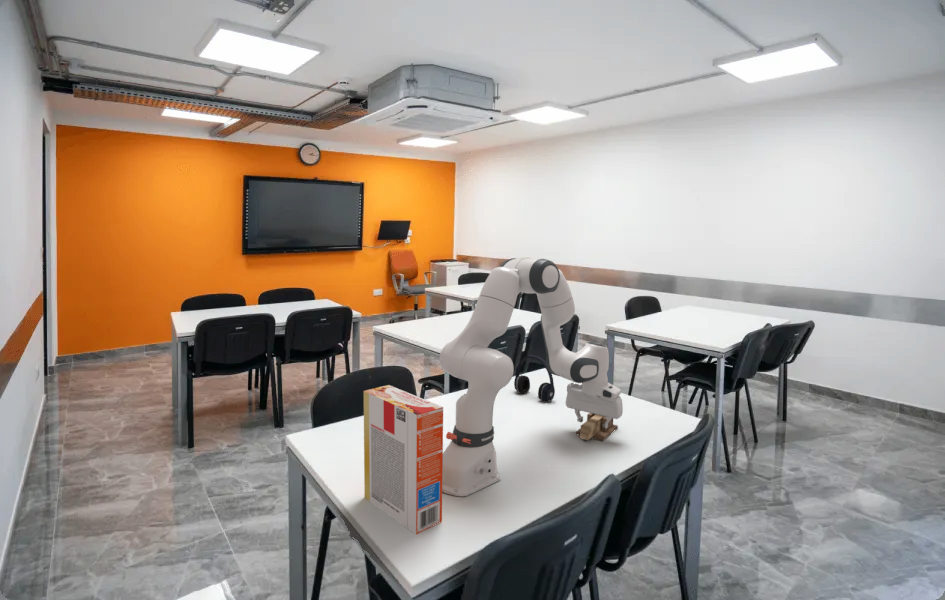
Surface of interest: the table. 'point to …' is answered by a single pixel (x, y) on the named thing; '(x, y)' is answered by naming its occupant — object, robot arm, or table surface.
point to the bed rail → (591, 427)
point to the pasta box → (403, 456)
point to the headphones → (523, 382)
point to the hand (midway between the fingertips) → (592, 424)
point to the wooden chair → (603, 432)
